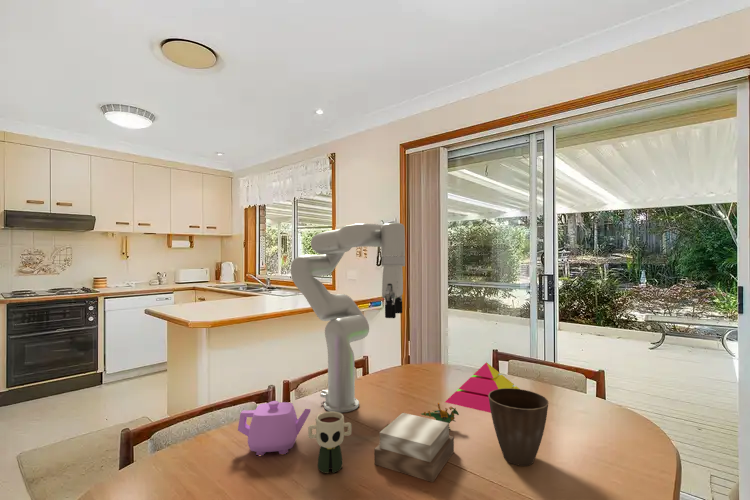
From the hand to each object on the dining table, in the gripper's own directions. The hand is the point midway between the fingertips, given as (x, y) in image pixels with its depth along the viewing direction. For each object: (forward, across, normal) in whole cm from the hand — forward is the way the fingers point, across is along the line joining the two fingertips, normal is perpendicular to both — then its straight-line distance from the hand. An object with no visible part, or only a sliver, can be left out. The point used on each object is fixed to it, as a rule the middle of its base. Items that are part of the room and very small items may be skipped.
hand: (394, 315), depth 120 cm
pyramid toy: (+36, -31, +28) cm, 55 cm away
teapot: (+35, +22, -30) cm, 51 cm away
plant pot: (+35, +10, +36) cm, 51 cm away
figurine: (+35, -1, +14) cm, 38 cm away
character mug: (+35, +28, -11) cm, 46 cm away
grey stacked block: (+35, +17, +9) cm, 40 cm away
